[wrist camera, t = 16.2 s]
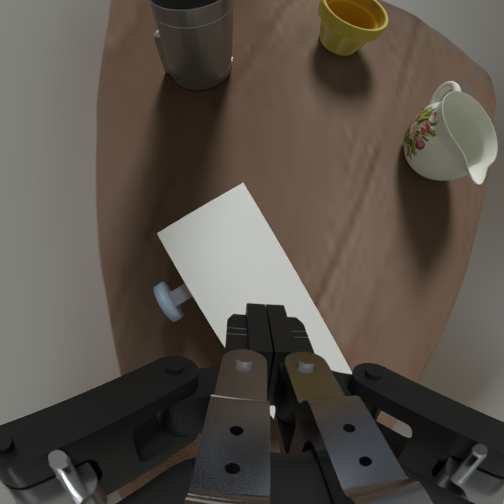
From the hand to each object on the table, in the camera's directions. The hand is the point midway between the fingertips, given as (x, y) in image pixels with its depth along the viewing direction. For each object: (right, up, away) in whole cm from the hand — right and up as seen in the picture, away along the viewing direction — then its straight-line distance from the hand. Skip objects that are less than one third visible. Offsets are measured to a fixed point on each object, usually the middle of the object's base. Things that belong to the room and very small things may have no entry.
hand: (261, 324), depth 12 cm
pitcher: (+26, +19, +30) cm, 44 cm away
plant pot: (+14, +38, +29) cm, 50 cm away
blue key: (-6, -1, +22) cm, 23 cm away
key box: (0, -4, +27) cm, 28 cm away
